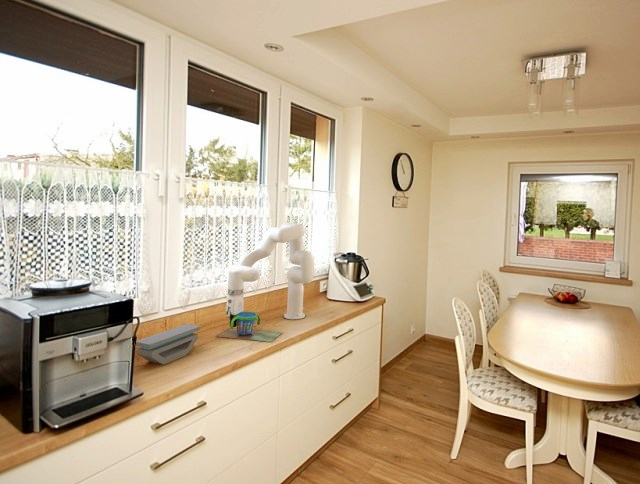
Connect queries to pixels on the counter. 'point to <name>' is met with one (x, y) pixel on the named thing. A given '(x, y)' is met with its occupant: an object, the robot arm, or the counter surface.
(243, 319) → the snack cup
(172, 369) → the counter surface
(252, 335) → the placemat
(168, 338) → the sharpening stone
